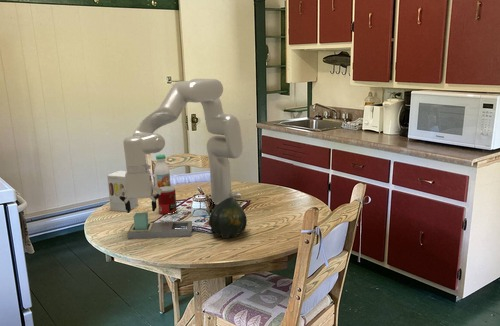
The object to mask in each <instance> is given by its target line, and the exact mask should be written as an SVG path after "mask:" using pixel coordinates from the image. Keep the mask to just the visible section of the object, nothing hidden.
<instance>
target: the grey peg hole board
mask: <svg viewBox="0 0 500 326" xmlns="http://www.w3.org/2000/svg"><path fill="white" fill-rule="evenodd" d="M148 223H149V228H148V230H135V226H134V222H133V223H132V224H131V226H130V227H129V230H128V231H127V239H128V240H139V239H140V240H141V239H143V240H144V239H160V238H161V239H162V238H164V239H165V238H183V237H184V238H185V237H191V236H192V232H193V227H192V224H193V220H185V221H184V220H183V221H182V220H181V221H180V220H179V221H178V220H177V221H159V222H158V221H157V222H155V221H154V222H148ZM181 226H187V229H174V228H176V227H181Z"/></svg>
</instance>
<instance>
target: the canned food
mask: <svg viewBox="0 0 500 326" xmlns="http://www.w3.org/2000/svg"><path fill="white" fill-rule="evenodd" d="M160 188H161V189H162V192H161V194H160V196H159V198H158V199H157V204H158V205H157V206H158V213H159V214H160V215H164V214H168V213H173V212H175V211H176V212H177V198H176V197H177V196H176V194H177V193H176V187H175V186H165V187H160ZM157 193H158V192H157ZM176 212H175V213H176ZM164 216H165V215H164Z"/></svg>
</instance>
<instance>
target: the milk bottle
mask: <svg viewBox="0 0 500 326" xmlns="http://www.w3.org/2000/svg"><path fill="white" fill-rule="evenodd" d="M155 159H156V164H155V167H154V173H153V175H154V186H156V187H158V188H160V187H165V186H171V174H170V173H171V172H170V168H169V166H168V164H167V162H166V155H165V154H157V155H155ZM171 187H172V186H171ZM155 195H157V191H155Z"/></svg>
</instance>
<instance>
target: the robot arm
mask: <svg viewBox="0 0 500 326" xmlns="http://www.w3.org/2000/svg"><path fill="white" fill-rule="evenodd" d="M223 85H224V84H223V83H222V82H221V81H220V80H218V79H216V78H193V79H191V80H186V81H185V80H183V81H182V80H181V81H177V82H175V83H174V84H173V85H172V86H171V88H170V89H169V91H168V93H167V95H166V96H165V98H164V99H163V101H162V102H161V104H160V105H159V107H158V108H157V109H155V110H153V112H151V113H150V114H148V115H147V116H146V117H144V119H142V120H141V121H140V123H139V124H138V126H137V127H136V128H135V130H134V131H133V134H132V136H128V137H125V138H124V140H123V141H122V142H123V149H124V150H123V151H124V159H125V166H126V167H125V168H126V169H125V170H126V171H127V172H126V174H125V187H124V188H123V189H121V190H119V191H118V192H117V193H116V194H117V195H118V197H119V198H120V199H121V200H122V201H123V202H124V203H125V208H126V210H127V212H126V213H127V214H130V212H131V211H132V210H131V206H130V201H129V199H130V198H138V199H145V198H146V199H147V198H148V199H150V200H151V209H152V212H155V211H156V210H157V208H158V207H157V206H158V205H157V201H158V198H159V196H160V194H161V192H162V189H161V188H158V187H156V186H155V185H153V178H152V173H151V171H150V169H151V165H149V164H148V163H147V157H146V155H147V154H156V153H160V152H161V151H162V150H164V148H165V146H166V141H165V140H166V139H165V138H164V137H163V136H162V135H161V134H158V133H155V132H156V131H157V130H158V129H160V128H161V127H163V126H167V125H169V124H171V123H175V121H178V119H179V118H180V116H181V114H182V112H183V110H184V109H185V107H186V105H187V104H188V103H200V104H201V106H202V109H203V114H204V119H205V120H204V121H205V125H206V130H207V131H208V133H210V134H212V135H214V136H211V137H209V139H208V140H207V141H206V142H207V143H206V150H207V155H208V159H209V160H208V161H209V175H210V195H211V197H209V198H212V200H213V201H214V204H215V205H214V206H217V205H218V204H219V203H220V202H222V201H224V200H225V199H227V198H231V197H233V199H235V198H237V199H239V198H240V199H241V198H242V197H241V195H242V194H241V193H239V192H233V191H232V181H231V179H232V177H231V176H232V175H231V163H230V159H233V160H234V159H238V158H240V156H241V155H242V153H243V139H242V132H241V126H240V121H239V120H238V118H237V117H236V116H235V115H233V114H231V113H230V114H229V113H224V110H223V105H222V101H221V99H220V98H221V96H222V95H223V92H224V87H223ZM156 191H157V192H158V193H157V194H154V192H156ZM123 192H125V194H126V197H124V196H123V195H122V193H123ZM235 200H236V199H235Z"/></svg>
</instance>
